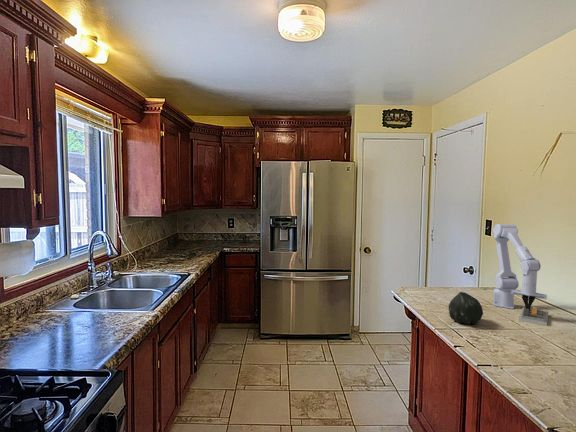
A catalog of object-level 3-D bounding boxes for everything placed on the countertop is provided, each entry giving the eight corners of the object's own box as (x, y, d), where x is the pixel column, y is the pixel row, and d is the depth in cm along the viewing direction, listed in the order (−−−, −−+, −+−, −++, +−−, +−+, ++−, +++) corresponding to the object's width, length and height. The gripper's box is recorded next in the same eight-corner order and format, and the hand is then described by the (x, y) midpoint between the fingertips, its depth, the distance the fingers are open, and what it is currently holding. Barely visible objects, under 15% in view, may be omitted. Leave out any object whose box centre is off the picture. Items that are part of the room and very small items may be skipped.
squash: (489, 309, 176) (467, 283, 180) (489, 320, 163) (465, 292, 167) (463, 324, 182) (442, 299, 186) (461, 335, 169) (439, 308, 173)
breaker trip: (531, 314, 181) (531, 307, 181) (531, 313, 183) (532, 306, 183) (536, 315, 180) (536, 308, 180) (536, 314, 182) (537, 307, 182)
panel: (518, 320, 177) (518, 316, 177) (522, 310, 193) (522, 306, 192) (546, 325, 171) (546, 321, 171) (548, 315, 186) (548, 310, 186)
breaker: (523, 316, 179) (523, 309, 178) (523, 314, 180) (524, 308, 180) (528, 317, 177) (528, 310, 177) (528, 315, 179) (528, 309, 179)
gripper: (511, 282, 183) (509, 309, 184) (547, 287, 175) (545, 316, 175) (512, 280, 189) (511, 306, 190) (547, 284, 180) (546, 312, 181)
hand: (527, 310), depth 183 cm, fingers closed
